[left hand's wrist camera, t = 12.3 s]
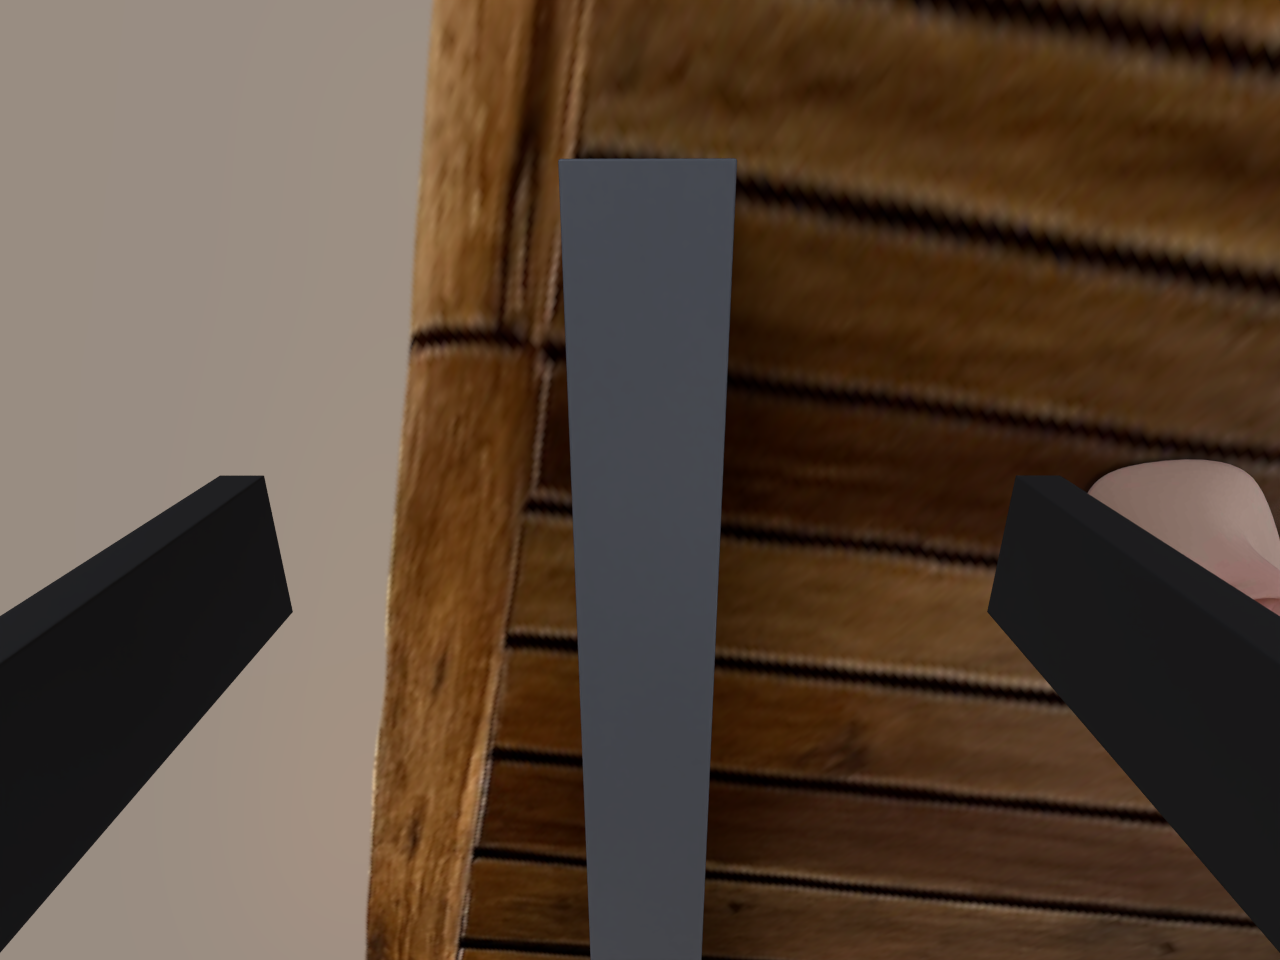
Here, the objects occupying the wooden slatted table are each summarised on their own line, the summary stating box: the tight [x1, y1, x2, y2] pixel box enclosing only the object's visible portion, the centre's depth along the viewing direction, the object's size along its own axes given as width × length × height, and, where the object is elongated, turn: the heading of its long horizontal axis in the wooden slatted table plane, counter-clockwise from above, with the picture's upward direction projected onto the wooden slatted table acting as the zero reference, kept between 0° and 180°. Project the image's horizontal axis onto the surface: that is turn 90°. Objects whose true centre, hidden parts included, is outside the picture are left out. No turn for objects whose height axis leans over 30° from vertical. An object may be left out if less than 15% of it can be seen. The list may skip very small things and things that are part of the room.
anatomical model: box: [1088, 459, 1280, 616], centre depth 36 cm, size 13×4×12 cm
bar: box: [558, 159, 737, 960], centre depth 38 cm, size 59×6×8 cm, turn 0°
